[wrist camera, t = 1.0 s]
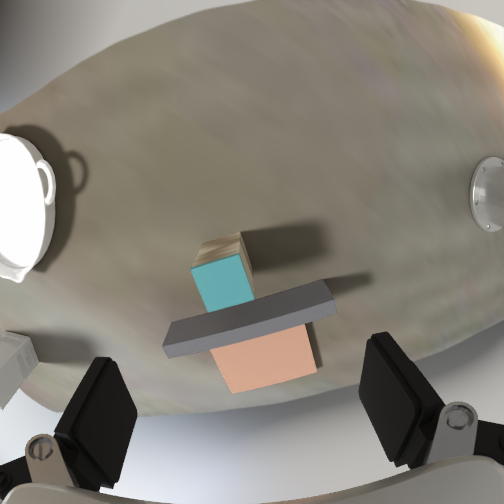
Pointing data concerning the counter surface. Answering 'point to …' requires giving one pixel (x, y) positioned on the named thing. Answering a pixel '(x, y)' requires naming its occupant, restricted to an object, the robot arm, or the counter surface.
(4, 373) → the skincare box
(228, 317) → the board
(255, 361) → the terracotta tile
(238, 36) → the counter surface
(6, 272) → the pan
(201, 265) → the block
